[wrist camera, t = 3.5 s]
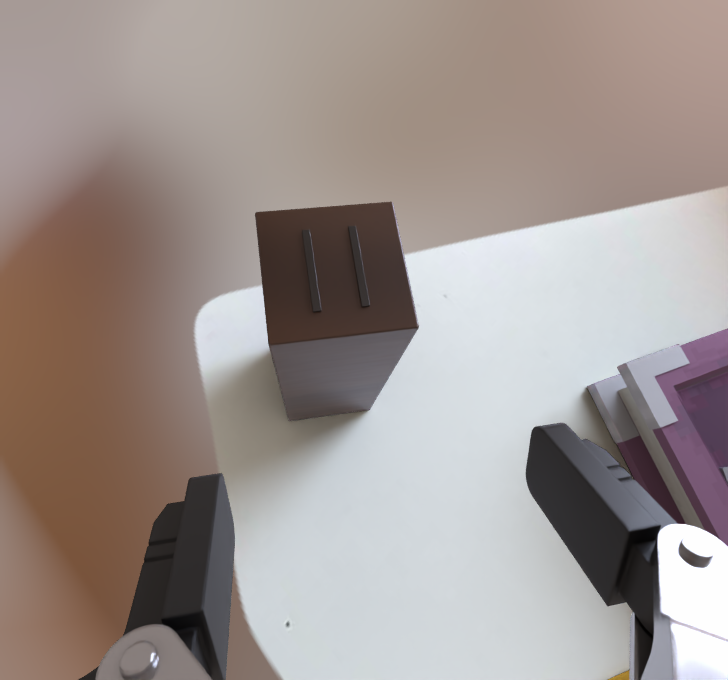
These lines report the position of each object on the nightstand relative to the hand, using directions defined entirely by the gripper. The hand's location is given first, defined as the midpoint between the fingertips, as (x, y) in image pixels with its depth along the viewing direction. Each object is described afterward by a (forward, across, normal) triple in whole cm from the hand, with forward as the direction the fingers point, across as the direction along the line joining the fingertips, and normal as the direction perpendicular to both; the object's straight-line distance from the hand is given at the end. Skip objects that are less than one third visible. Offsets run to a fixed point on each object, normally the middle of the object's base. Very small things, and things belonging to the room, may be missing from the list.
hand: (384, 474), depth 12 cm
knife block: (+19, 0, +8) cm, 21 cm away
